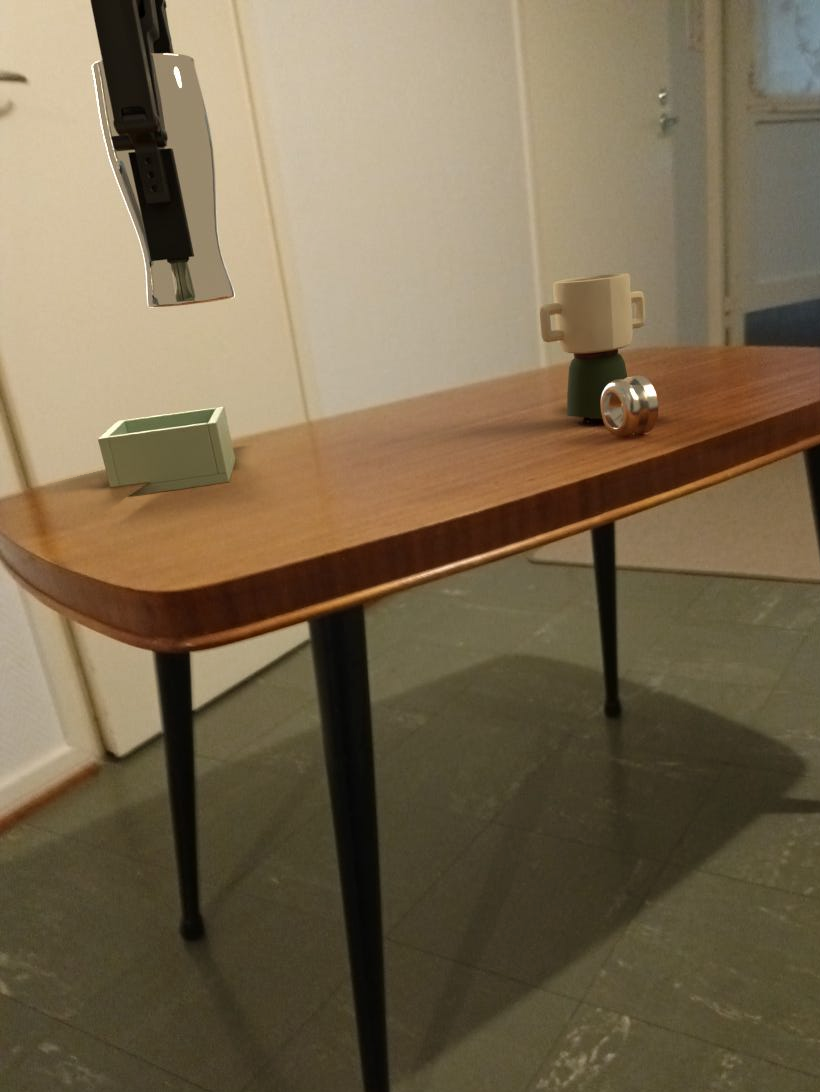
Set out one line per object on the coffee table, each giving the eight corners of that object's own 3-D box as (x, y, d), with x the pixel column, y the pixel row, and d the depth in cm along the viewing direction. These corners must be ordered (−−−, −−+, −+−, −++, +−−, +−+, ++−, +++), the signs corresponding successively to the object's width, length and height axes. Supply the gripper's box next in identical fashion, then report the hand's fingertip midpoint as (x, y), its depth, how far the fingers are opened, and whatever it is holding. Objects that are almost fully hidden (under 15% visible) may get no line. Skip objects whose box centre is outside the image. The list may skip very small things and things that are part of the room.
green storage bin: (113, 499, 86) (97, 438, 84) (130, 475, 96) (117, 420, 94) (229, 482, 87) (216, 422, 85) (235, 460, 97) (224, 406, 95)
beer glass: (121, 311, 69) (64, 68, 63) (191, 300, 75) (145, 75, 69) (193, 305, 66) (140, 48, 60) (261, 294, 71) (219, 57, 66)
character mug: (631, 406, 100) (624, 270, 95) (668, 414, 94) (663, 270, 89) (533, 424, 97) (521, 285, 92) (566, 434, 90) (554, 285, 85)
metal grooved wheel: (659, 436, 85) (657, 377, 83) (631, 442, 84) (627, 383, 82) (626, 429, 89) (623, 373, 87) (599, 435, 88) (595, 378, 86)
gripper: (126, -216, 51) (216, 253, 60) (189, -95, 70) (251, 251, 78) (-20, -204, 51) (92, 267, 60) (82, -86, 69) (156, 262, 78)
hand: (182, 257), depth 69 cm, fingers closed on beer glass, 7 cm apart
